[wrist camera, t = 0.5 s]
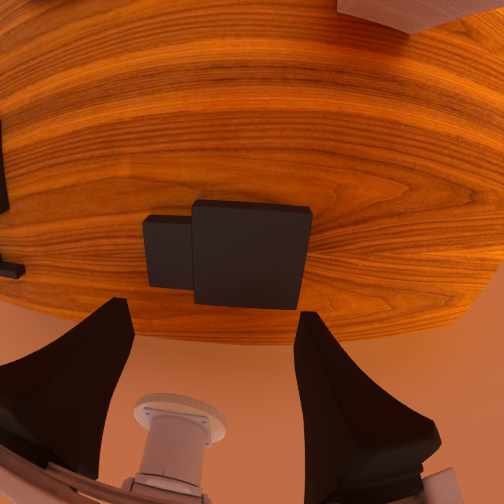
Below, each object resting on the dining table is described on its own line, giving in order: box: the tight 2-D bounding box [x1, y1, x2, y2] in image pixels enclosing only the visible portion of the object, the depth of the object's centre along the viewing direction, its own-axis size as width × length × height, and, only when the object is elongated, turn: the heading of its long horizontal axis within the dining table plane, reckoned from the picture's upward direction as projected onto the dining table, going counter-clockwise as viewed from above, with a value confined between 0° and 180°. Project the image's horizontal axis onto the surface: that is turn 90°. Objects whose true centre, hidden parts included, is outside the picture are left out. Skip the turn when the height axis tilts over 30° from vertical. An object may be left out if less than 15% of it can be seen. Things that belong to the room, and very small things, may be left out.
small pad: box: [142, 200, 313, 310], centre depth 21 cm, size 8×12×2 cm
